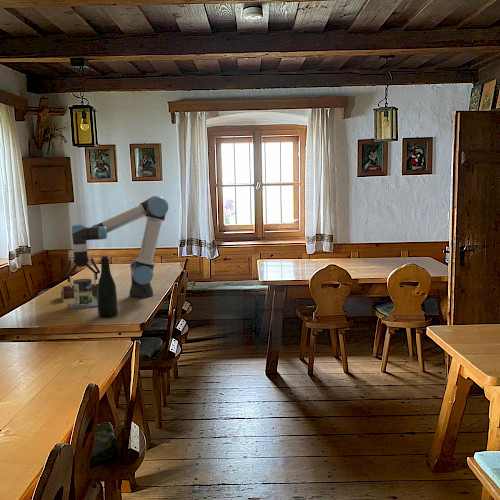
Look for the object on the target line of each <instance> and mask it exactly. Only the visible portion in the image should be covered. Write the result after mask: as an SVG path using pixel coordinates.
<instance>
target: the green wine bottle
mask: <svg viewBox="0 0 500 500" xmlns="http://www.w3.org/2000/svg"><path fill="white" fill-rule="evenodd" d="M100 269H101V270H100V275H99V279H98V282H97V284H98V286H97V295H96V300H97V303H98V307H97V316H98V317H99V318H103V319H106V318H107V319H108V318H114V317H116V316H117V315H118V314H119V309H118V308H119V306H118V295H117V286H116V283H115V280H114V277H113V276H112V273H111V269H110V259H109V256H108V255H102V256H101V258H100Z"/></svg>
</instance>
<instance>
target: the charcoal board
mask: <svg viewBox="0 0 500 500" xmlns="http://www.w3.org/2000/svg"><path fill="white" fill-rule="evenodd" d="M92 301H93V303H92V304H89V305H75V300H74V301H69V305H68V306H69V307H68V308H69V310H80V309H81V310H82V309H88V308H89V309H91V308H98V303H97V299H92Z"/></svg>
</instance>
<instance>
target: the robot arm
mask: <svg viewBox="0 0 500 500" xmlns="http://www.w3.org/2000/svg"><path fill="white" fill-rule="evenodd" d="M168 210H169V203H168V201H167V200H166V199H165V198H164V197H162V196H159V195H153V196H150V197H149V198H147V199H146V200H144V201H142V202H140V203H139V205H137V206H135V207H133V208H131V209H129V210H126V211H124V212H122V213H120V214H118V215H115V216H112V217H110V218H108V219H106V220H103V221H102V222H99V223H97V224H94V225H92V226H91V227H86V225H85V224H84V223H83V224H73V225H72V226H71V237H72V249H73V259H69V260H68V264H67V267H66V269H65V272H64V273H63V276H64V277H66V278H67V282H68V283H69V286H70V288H72V286H73V283H72V282H73V281H72V276H71V275H72V274H73V272H74V271H75V270H76V269H77V267H78V268H81V267H87V268H88V269H89V270H90V271H91V272H92V273H93V282H94V283H93V284H95V286H96V284H97V281H96V280H98V274H101V270H100V269H99V268H98V266H97V264H96V263H95V261H94V258H93V257H91V258H88V257H89V256H88V247H87V241H95V240H96V241H97V240H100V241H101V240H106V239H107V238H108V233H111V232H114V231H116V230H117V229H120V228H122V227H124V226H127V225H129V224H131V223H133V222H136V221H138V220H141V219H142V218H146V224H145V229H144V232H143V237H142V241H141V242H142V243H141V246H140V250H139V256H138V258H136V259H135V260H131V261H130V264H129V266H130V277H131V278H130V280H131V285H130V288H129V298H132V299H133V298H134V299H144V298H150V297H153V296H154V290H153V288H152V284H151V281H152V280H153V277H154V269H155V262H154V257H155V252H156V247H157V244H158V240H159V234H160V229H161V225H162V222H164V221H165V219H166V216H167V213H168ZM89 262H90V263H91V264H92V265H93V266H94V268H93V267H92V266H91V265H90V264H89ZM73 263H74V266H73V267H72V268H71V265H72V264H73ZM70 268H71V269H70Z"/></svg>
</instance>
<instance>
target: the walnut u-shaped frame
mask: <svg viewBox="0 0 500 500" xmlns="http://www.w3.org/2000/svg"><path fill="white" fill-rule="evenodd" d="M91 284H92V296H94V295H95V296H97V286H98V283H96V286H95V284H94V283H91ZM60 292H61V293H60V295H61V303H64V301H65V298H74V285H72V288H70V285H67V286H66V285H64V286H61V290H60Z"/></svg>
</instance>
